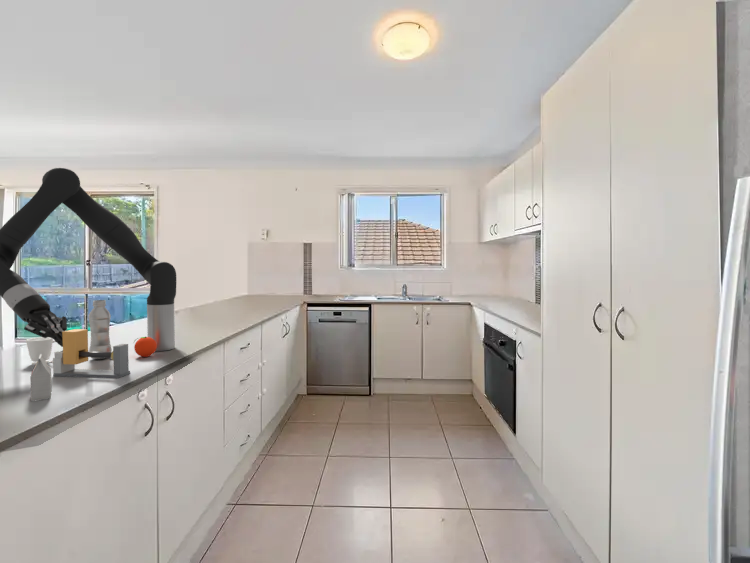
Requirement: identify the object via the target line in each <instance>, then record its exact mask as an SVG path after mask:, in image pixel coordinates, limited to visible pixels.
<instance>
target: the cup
mask: <svg viewBox="0 0 750 563" xmlns="http://www.w3.org/2000/svg"><path fill="white" fill-rule="evenodd" d="M25 343H26V348H27V351H28V355H29V357H30V358H29V359H31V360H30V361H32V363H31V365H33V366H35V365H36V363H37V361H38V359H39V356H40V354H42V356H43V358H44V360H45V361H46V362H47V364H48V362H50V363H53V359H52V360H50V358H51V355H52V348H53V343H57V342H56V341H55V340H54V339H52V338H50V337H47V338H43V337H41V336H38V337H31V338H27V339H26V340H25ZM49 360H50V361H49Z"/></svg>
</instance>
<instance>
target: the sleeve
mask: <svg viewBox="0 0 750 563" xmlns="http://www.w3.org/2000/svg"><path fill="white" fill-rule="evenodd" d="M88 333H89V332H88V329H87V328H86V329H85V328H84V329H83V328H82V329H81V328H74V329H70V330H68V329H67V330H65V331H63V332H62V336H63V347H62V350H63V364H75V366H77V365H80V364H82V363H85V362H88V361H89V357H79V351H84V352H89V336H88Z"/></svg>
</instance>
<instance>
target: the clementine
mask: <svg viewBox="0 0 750 563" xmlns="http://www.w3.org/2000/svg"><path fill="white" fill-rule="evenodd" d="M135 341H136V342H135ZM133 343H134V346H133V347H134V352H135V353H136V354H137V355H138V356H139V357H143V358H145V357H150V356H152V355H153V354H154V353H155V352H157V351H156V349H157V344H156V342H155V340H154V339H152V338H150V337H148V336H141V337H137V338H136V340H133Z"/></svg>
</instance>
